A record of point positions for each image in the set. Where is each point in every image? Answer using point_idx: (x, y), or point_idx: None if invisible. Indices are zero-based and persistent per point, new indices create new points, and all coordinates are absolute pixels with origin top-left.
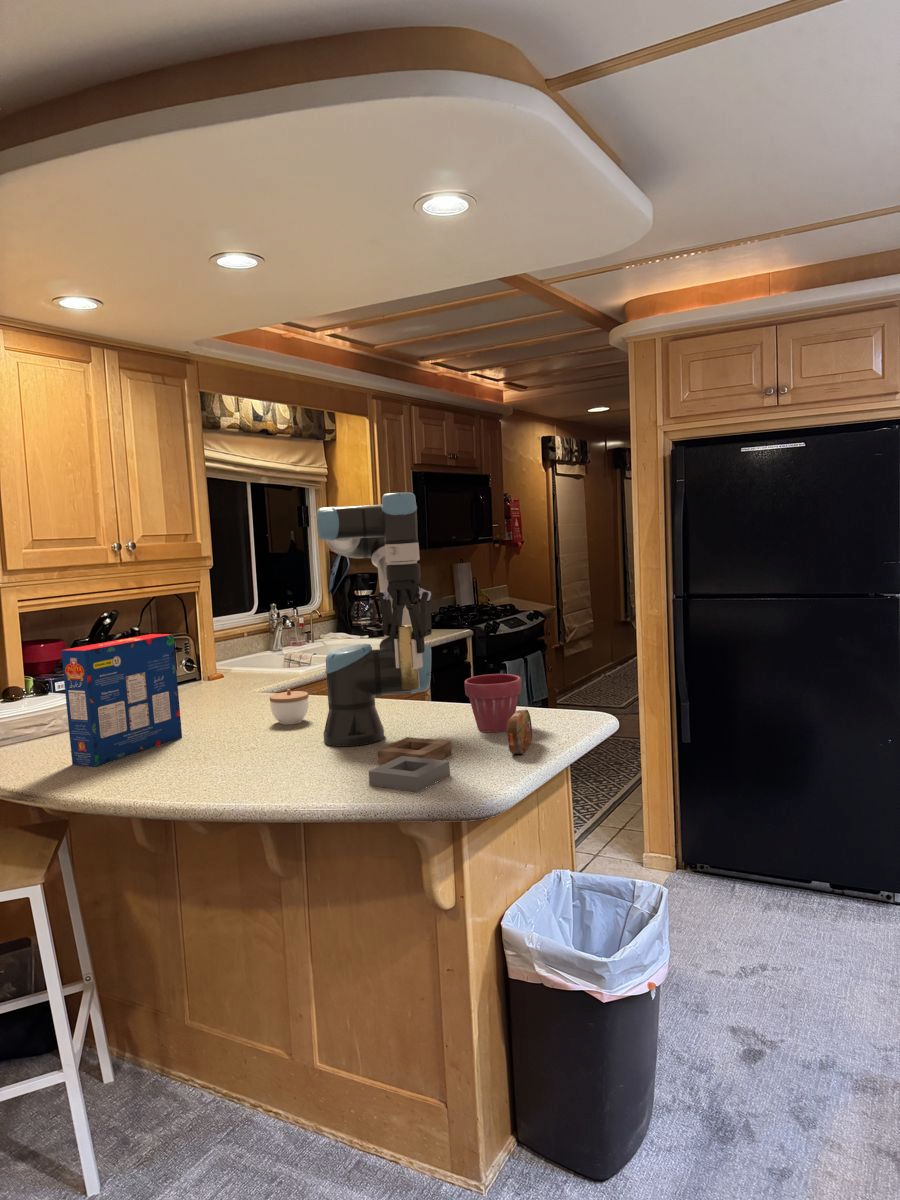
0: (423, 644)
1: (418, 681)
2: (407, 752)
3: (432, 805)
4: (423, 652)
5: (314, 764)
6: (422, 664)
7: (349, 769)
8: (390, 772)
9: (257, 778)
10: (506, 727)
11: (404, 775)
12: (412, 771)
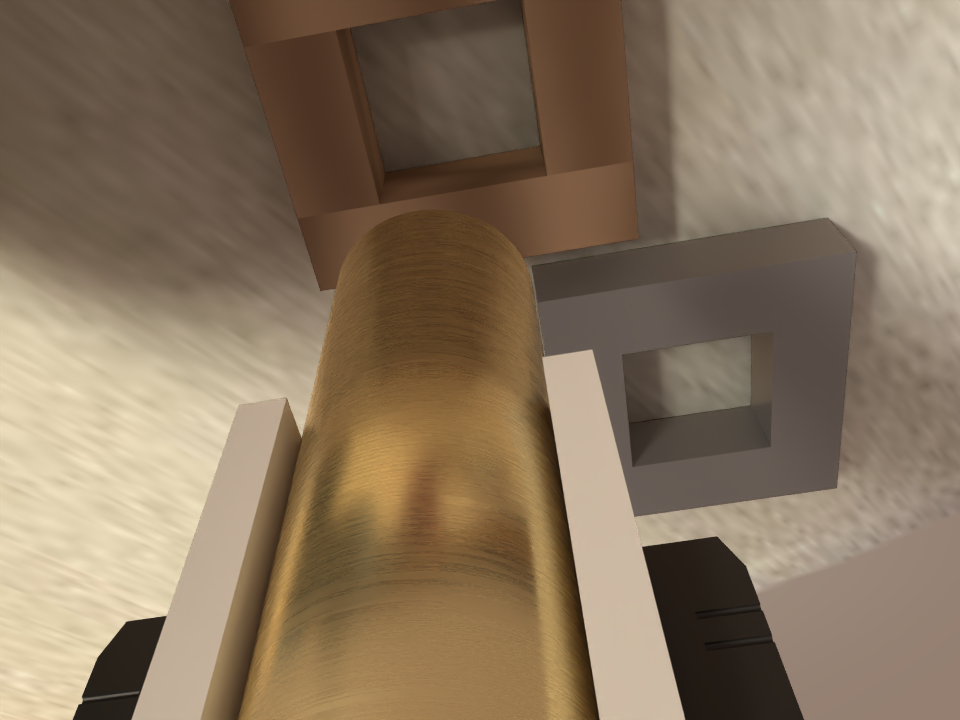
0: (784, 686)
1: (533, 306)
2: (520, 241)
3: (941, 509)
4: (716, 548)
5: (68, 411)
6: (596, 373)
7: (291, 385)
8: (678, 497)
9: (84, 613)
10: None
11: (764, 496)
12: (766, 449)
